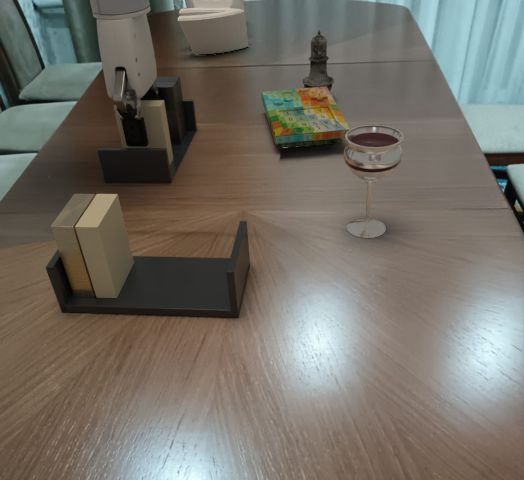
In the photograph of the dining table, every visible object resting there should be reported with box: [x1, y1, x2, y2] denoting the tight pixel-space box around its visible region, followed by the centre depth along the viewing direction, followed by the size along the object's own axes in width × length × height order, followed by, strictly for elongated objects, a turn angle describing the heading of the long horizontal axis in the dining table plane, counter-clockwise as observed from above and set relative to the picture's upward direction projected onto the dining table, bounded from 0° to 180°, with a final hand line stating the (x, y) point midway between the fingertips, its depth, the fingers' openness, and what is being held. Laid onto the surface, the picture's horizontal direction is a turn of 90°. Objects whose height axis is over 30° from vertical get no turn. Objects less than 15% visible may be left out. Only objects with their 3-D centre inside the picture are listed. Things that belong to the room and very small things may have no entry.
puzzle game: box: [260, 86, 351, 149], centre depth 96 cm, size 12×5×20 cm
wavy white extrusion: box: [177, 0, 249, 55], centre depth 139 cm, size 35×16×10 cm, turn 0°
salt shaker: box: [301, 29, 335, 93], centre depth 104 cm, size 6×6×12 cm
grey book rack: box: [96, 75, 198, 185], centre depth 89 cm, size 20×10×10 cm, turn 174°
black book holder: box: [45, 193, 251, 319], centre depth 63 cm, size 20×10×10 cm, turn 84°
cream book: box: [113, 100, 173, 165], centre depth 86 cm, size 2×7×9 cm, turn 84°
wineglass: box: [343, 124, 405, 239], centre depth 70 cm, size 7×7×12 cm
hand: (145, 133), depth 86 cm, fingers open, 7 cm apart
